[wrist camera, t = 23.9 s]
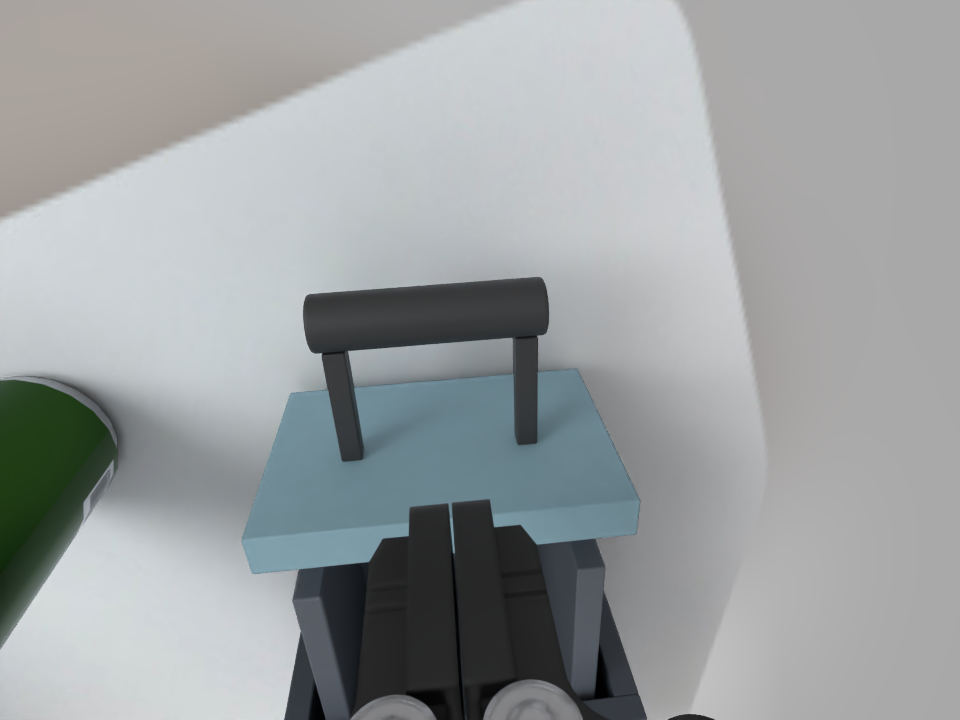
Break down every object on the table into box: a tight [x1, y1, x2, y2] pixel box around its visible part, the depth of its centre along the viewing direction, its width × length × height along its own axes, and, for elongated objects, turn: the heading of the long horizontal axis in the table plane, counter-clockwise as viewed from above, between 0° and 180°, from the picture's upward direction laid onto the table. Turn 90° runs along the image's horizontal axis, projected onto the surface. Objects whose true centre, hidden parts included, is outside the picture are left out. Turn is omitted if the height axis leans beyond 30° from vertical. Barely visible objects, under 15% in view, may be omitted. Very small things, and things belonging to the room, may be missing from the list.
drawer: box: [241, 277, 640, 720], centre depth 19 cm, size 15×10×7 cm, turn 2°
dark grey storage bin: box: [284, 590, 647, 720], centre depth 25 cm, size 12×11×9 cm
